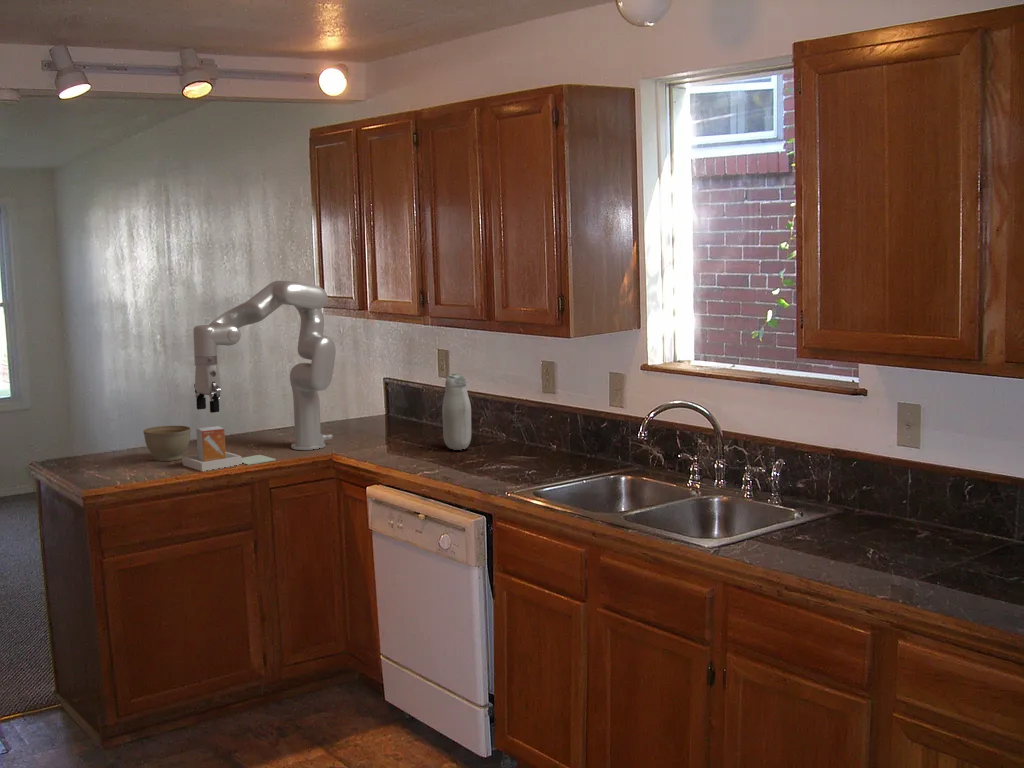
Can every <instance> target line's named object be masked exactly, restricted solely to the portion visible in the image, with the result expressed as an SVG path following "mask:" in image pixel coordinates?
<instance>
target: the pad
mask: <svg viewBox="0 0 1024 768" xmlns="http://www.w3.org/2000/svg"><path fill="white" fill-rule="evenodd" d="M241 459H242V463H244V464H243V465H246V464H247V465H246V466H251V465H256V464H261V463H267V462H268V463H269V462H273V461H277V459H276V458H272V457H270V456H266V455H263V454H257V455H251V456H244V457H241Z"/></svg>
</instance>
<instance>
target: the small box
mask: <svg viewBox="0 0 1024 768" xmlns="http://www.w3.org/2000/svg"><path fill="white" fill-rule="evenodd" d="M195 430H196V431H195V432H196V445H197V446H196V447H197V448H196V449H197V454H198V461H201V462H207V461H213V460H219V459H225V458H226V453H225V452H226V437H225V435H226V434H225V431H226V430H225V428H224V427H222V426H220V425H216V426H207V427H206V426H205V427H199V428H197V427H196V429H195Z"/></svg>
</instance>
